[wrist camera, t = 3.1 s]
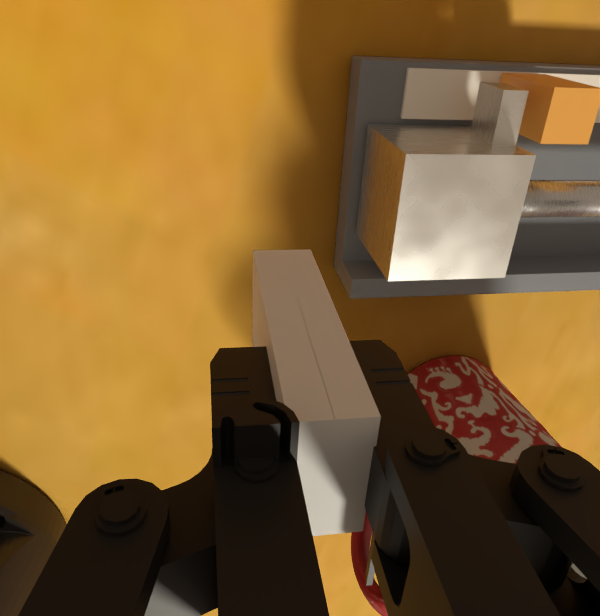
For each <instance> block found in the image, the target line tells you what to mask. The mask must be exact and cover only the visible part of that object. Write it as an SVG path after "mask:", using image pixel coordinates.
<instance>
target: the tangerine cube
mask: <svg viewBox="0 0 600 616" xmlns="http://www.w3.org/2000/svg"><path fill="white" fill-rule="evenodd" d="M500 83H505V84H509V85H512V86H515V87H518V88H522V89H525V90H528V91H529V92H528V96H527V101H526V105H525V109H524V113H523V117H522V122H521V126H520V130H519V134H520V135H522V136H524V137H526V138H528V139H531V140H533V141H535V142H537V143H540V144H588V143H589V140H590V136H591V133H592V130H593V126H594V123H595V119H596V116H597V113H598V109H599V106H600V88H599V87H595V86H591V85H587V84H583V83H579V82H575V81H571V80H567V79H563V78H559V77H555V76H551V75H547V74H526V73H502V75H501V79H500Z"/></svg>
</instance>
